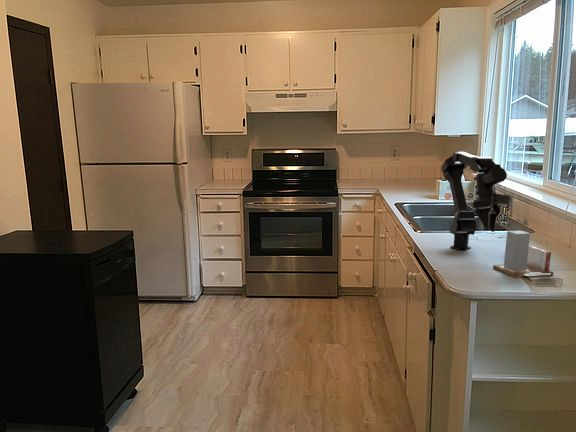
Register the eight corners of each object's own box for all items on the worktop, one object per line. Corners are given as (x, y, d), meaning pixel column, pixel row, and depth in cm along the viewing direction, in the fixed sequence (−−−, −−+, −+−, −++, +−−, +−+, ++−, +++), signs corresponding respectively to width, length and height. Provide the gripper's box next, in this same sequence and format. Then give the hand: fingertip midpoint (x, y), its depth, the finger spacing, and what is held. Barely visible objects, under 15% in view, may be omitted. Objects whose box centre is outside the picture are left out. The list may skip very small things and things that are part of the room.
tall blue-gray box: (503, 267, 166) (507, 231, 163) (517, 266, 167) (521, 230, 164) (512, 270, 161) (516, 233, 159) (526, 269, 162) (530, 233, 160)
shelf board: (513, 277, 158) (516, 254, 156) (493, 268, 168) (495, 246, 167) (553, 275, 161) (556, 252, 160) (530, 265, 172) (532, 244, 170)
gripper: (502, 180, 164) (508, 224, 161) (513, 190, 179) (518, 230, 176) (470, 185, 170) (474, 228, 167) (483, 194, 185) (487, 234, 182)
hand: (490, 230), depth 173 cm, fingers open, 9 cm apart
